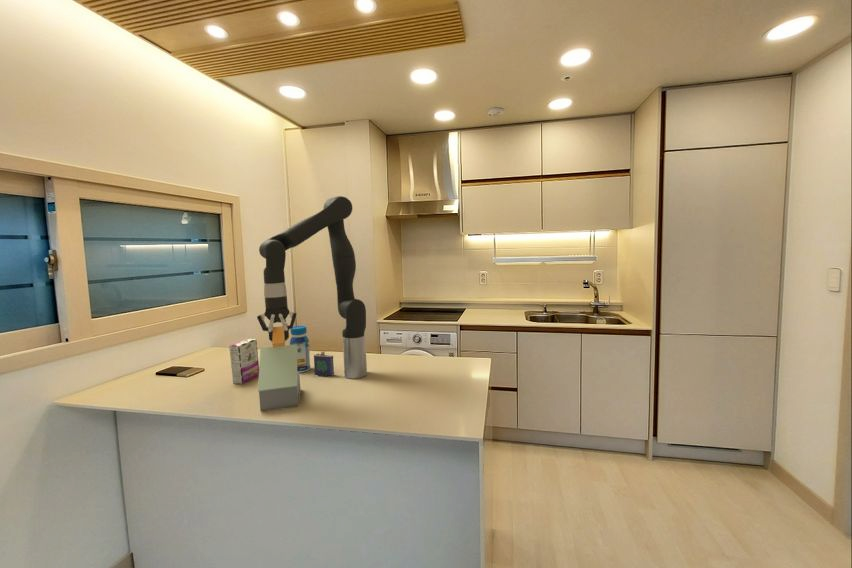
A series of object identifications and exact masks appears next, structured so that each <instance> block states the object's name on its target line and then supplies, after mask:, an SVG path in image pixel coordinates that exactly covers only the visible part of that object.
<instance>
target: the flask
mask: <svg viewBox="0 0 852 568" xmlns="http://www.w3.org/2000/svg"><path fill="white" fill-rule="evenodd" d="M325 353H326V350H323V351H320V353H319V352H318V353H316V354H314V355H313V364H314V367H313V368H314V369H313V371H314V376H315V375H318V376H317V377H328V376H330V377H334V376H335V368H334V367H335V366H334V355H333V354H325ZM333 375H334V376H333Z"/></svg>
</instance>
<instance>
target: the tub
mask: <svg viewBox="0 0 852 568" xmlns="http://www.w3.org/2000/svg"><path fill="white" fill-rule="evenodd" d="M300 374H301V373H299V372H297V387H290V388H282V389H274V390H266V391H259V392H258V397H259V409H260V411H263V412H269V410H270V411H275V410H276V409H277V410H283V408H284V409H289V408H290V407H292V408H297V407H299V404H300V403H299V402H300V396H301V377H300ZM290 409H291V408H290ZM277 410H276V411H277Z"/></svg>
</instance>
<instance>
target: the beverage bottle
mask: <svg viewBox="0 0 852 568" xmlns="http://www.w3.org/2000/svg"><path fill="white" fill-rule="evenodd" d="M307 333H308V331H307V326H306V325H294V326H293V328H292V329H290V334H291V337H290V340H289V344H290V345H297V372H299V374H301V373H305V371H306V372H308V371H310V370H311V359H310V358H311V357H310V349H311V348H310V344H309V342H310V339H309V338H308V335H307Z"/></svg>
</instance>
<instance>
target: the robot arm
mask: <svg viewBox="0 0 852 568" xmlns="http://www.w3.org/2000/svg"><path fill="white" fill-rule="evenodd" d="M352 212H353V204H352V201H351V200H350V199H348V197H346V196H342V195H341V196H340V195H339V196H335V197H331V198H328V199H327V200H326V201H325V202H324V204H323V208H322V209H321V210H320V211H319V212H316V213H315V214H313V215H311V216H309V217H307V218H304V219H302V220H300V221H298V222H296V223H294V224H293V225H291V226H290V227H287V228H286V229H284V231H282V232H280V233H277V234H276V235H274V236H271V237H269V238H267V239H265V240H264V241H263V242H261V244H260V245H259V249H258V252H259V255H260V257H262V258H264V259H265V267H264V269H263V285H264V286H263V293H264V294H263V295H264V306H265V312H264V313H262V314H258V315H257V317H256V318H257V319H256V320H257V321H258V323H259V325H260V327H261V329H262V331H263V332H267V333H268V339H269V341H270V342H271V343H272V337H273V327H274V324H276V323H281V324H282V326H283V327H284V335H285V342H286V341H288V339H289V337H290V332H289V331H290V330H291V329H292V328H293V327H294V326H295V322H296V318H297V314H298V313H297V311H290V310H289V306H288V305H289V304H288V294H287V293H288V292H287V286H286V276H285V268H286V267H285V265H286V259H287V258H286V256H287V253H286V251H288V250H289V249H293V248H295V247H298V246H299V245H301V244H302V243H305V241H307V240H308V239H310V238H311V237H313V236H315V235H316V234H317V233H320V231H322V230H324V229H325V228H327V230H328V236H329V237H328V238H329V243H330V250H331V251H330V252H331V258H332V266H333V267H332V268H333V271H334V279H335V284H336V294H337V295H336V296H337V299H336V300H337V311H338V314H339V316H340V317H341V318H342V319H344V320H346V321H345V328H344V329H342V331H341V334H342V336H341V337H342V353H343V370H344V371H343V372H344V377H345V378H346V379H353V380H355V379H360V378H363V377H367V376H368V367H367V366H368V365H367V353H366V340H365V339H366V337H365V332H366V328H367V309H366V305H365V303H364V302H363V301H362V299H361V300H360V299H358V298H355V294H354V280H355V275H356V271H357V262H356V254H355V250H354V248H353V246H352V244H351V240H349V238H348V235H347V233H346V229H345V220H346V219H347V218H349V217H350V216H351V215H352ZM288 316H289V318H290V324H289V325H288V322H287V318H288ZM265 319H268V321H269V325H268V326H267V324H266V322H265Z"/></svg>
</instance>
